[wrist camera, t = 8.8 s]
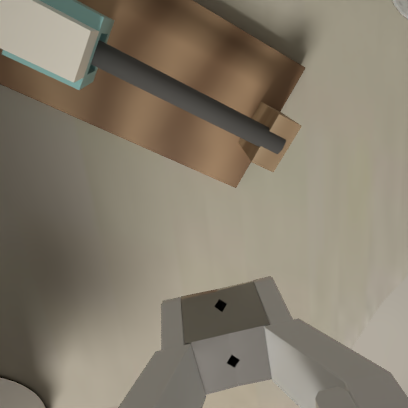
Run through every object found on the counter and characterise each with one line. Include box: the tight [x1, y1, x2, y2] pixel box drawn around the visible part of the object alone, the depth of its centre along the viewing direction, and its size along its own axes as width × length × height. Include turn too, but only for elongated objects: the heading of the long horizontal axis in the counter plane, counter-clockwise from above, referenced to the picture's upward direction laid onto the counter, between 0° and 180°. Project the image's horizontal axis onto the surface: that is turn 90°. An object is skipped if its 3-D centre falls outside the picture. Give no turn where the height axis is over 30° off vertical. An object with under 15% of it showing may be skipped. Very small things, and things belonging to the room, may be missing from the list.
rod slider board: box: [0, 0, 305, 188], centre depth 25 cm, size 26×12×6 cm, turn 63°
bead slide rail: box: [91, 40, 286, 154], centre depth 22 cm, size 25×4×4 cm, turn 63°
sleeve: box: [0, 0, 114, 90], centre depth 20 cm, size 4×4×7 cm
